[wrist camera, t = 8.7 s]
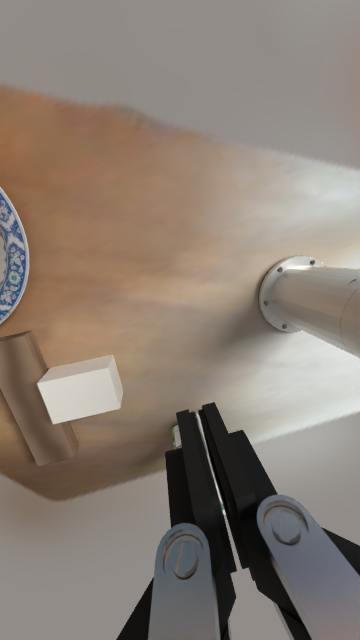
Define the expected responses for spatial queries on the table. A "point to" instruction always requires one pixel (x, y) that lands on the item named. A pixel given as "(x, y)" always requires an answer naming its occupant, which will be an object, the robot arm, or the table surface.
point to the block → (81, 389)
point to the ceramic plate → (11, 258)
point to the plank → (32, 400)
